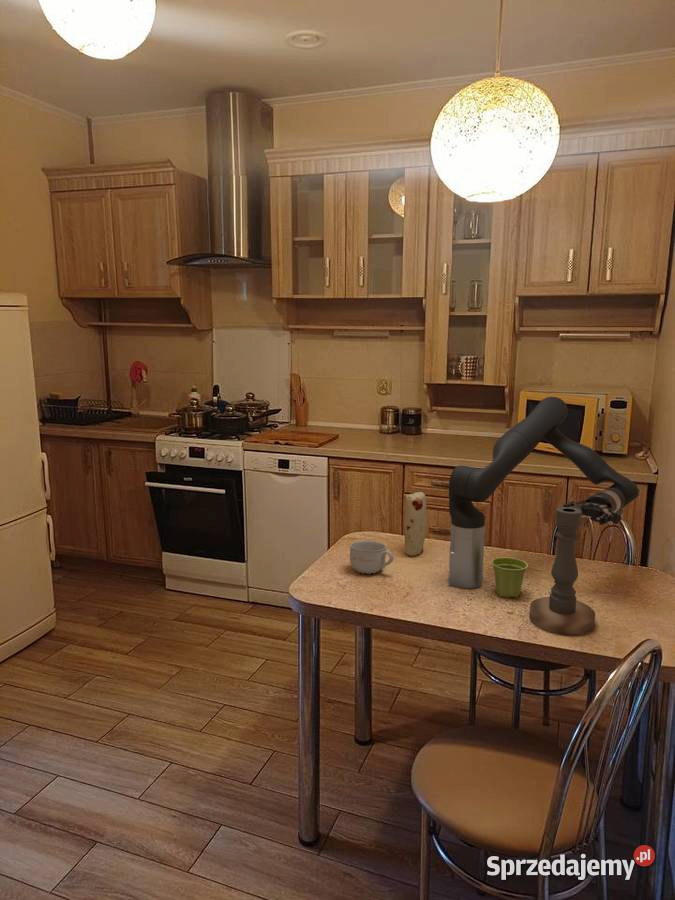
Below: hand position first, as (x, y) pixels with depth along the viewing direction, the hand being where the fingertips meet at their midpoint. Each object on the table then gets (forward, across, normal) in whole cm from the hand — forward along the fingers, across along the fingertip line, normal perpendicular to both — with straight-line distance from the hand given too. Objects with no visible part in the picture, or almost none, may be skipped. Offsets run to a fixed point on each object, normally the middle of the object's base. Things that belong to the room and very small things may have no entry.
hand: (583, 517), depth 160 cm
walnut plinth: (+14, +1, +23) cm, 27 cm away
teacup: (+17, -54, +23) cm, 61 cm away
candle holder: (+14, +1, +20) cm, 24 cm away
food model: (-4, -53, +23) cm, 58 cm away
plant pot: (+7, -16, +23) cm, 29 cm away
